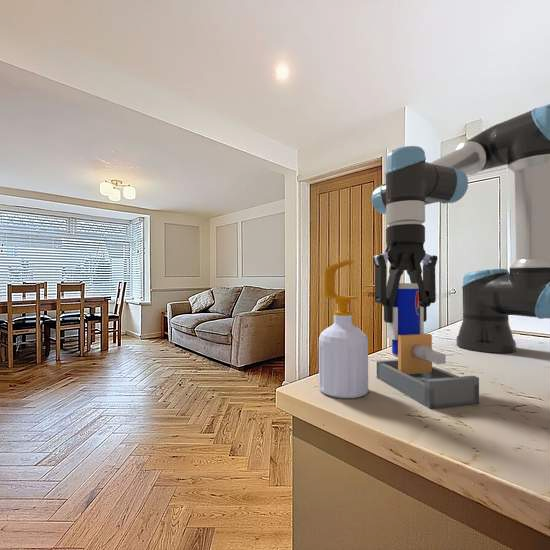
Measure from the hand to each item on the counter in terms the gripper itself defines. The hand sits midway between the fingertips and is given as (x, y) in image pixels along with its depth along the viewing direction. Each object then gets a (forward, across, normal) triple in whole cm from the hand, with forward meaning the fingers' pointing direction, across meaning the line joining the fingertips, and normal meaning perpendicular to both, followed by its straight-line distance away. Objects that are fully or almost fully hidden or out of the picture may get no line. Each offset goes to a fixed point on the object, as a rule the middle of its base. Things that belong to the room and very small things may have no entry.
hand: (405, 337), depth 69 cm
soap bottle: (+9, +15, +3) cm, 18 cm away
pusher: (+6, 0, +7) cm, 9 cm away
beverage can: (+4, 0, 0) cm, 4 cm away
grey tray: (+9, 0, +5) cm, 10 cm away
